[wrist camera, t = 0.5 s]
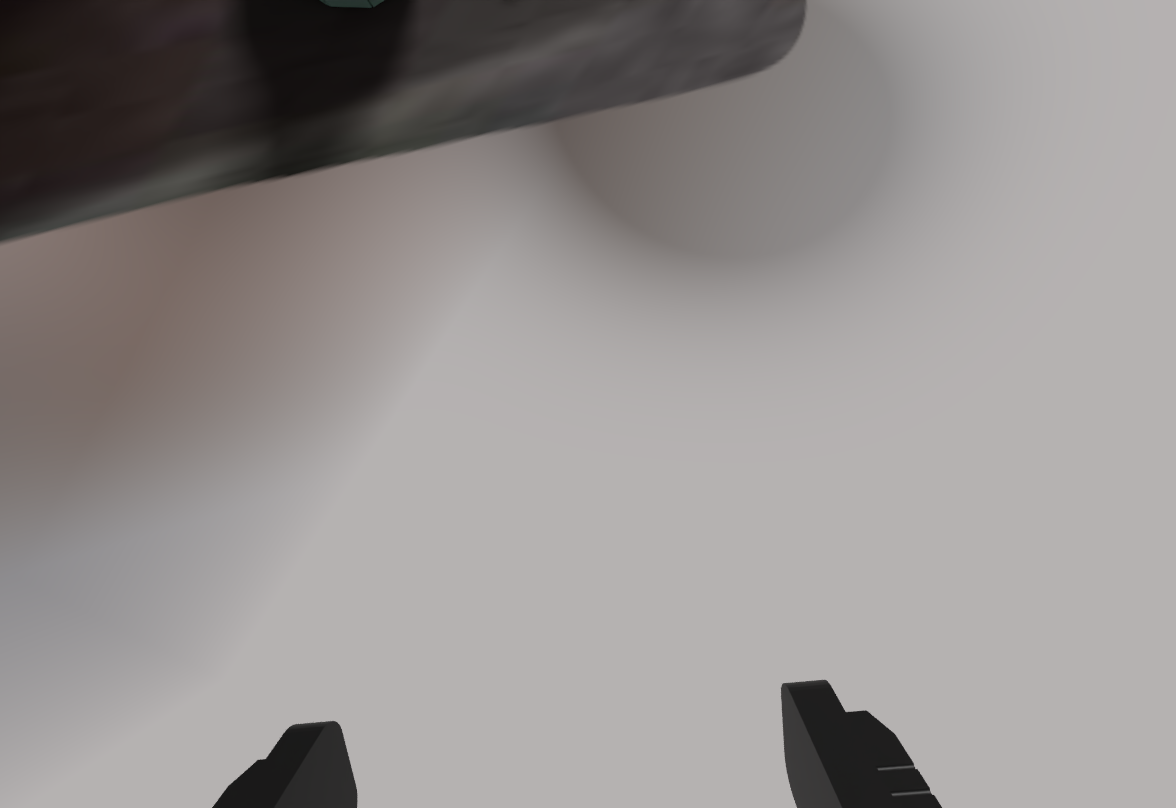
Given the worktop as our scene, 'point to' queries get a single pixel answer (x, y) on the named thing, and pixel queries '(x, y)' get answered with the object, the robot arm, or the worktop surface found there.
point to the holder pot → (352, 3)
